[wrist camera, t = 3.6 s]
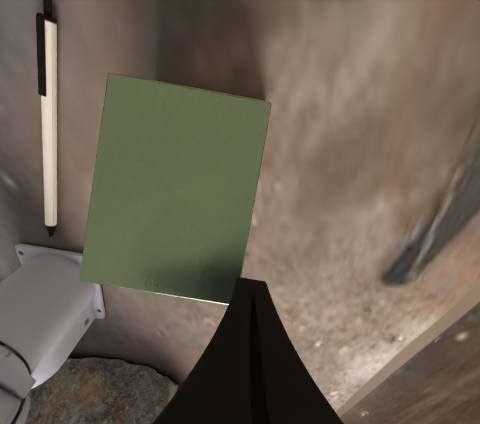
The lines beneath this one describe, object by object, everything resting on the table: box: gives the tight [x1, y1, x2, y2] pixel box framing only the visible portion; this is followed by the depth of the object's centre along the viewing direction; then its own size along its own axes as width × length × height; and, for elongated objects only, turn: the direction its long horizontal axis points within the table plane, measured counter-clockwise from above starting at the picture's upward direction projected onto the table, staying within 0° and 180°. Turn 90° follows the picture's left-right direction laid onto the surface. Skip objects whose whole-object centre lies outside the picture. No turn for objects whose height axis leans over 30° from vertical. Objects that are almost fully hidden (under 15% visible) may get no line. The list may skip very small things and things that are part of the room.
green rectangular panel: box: [79, 73, 271, 305], centre depth 12 cm, size 10×8×1 cm
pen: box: [36, 0, 57, 238], centre depth 18 cm, size 1×19×1 cm, turn 159°
